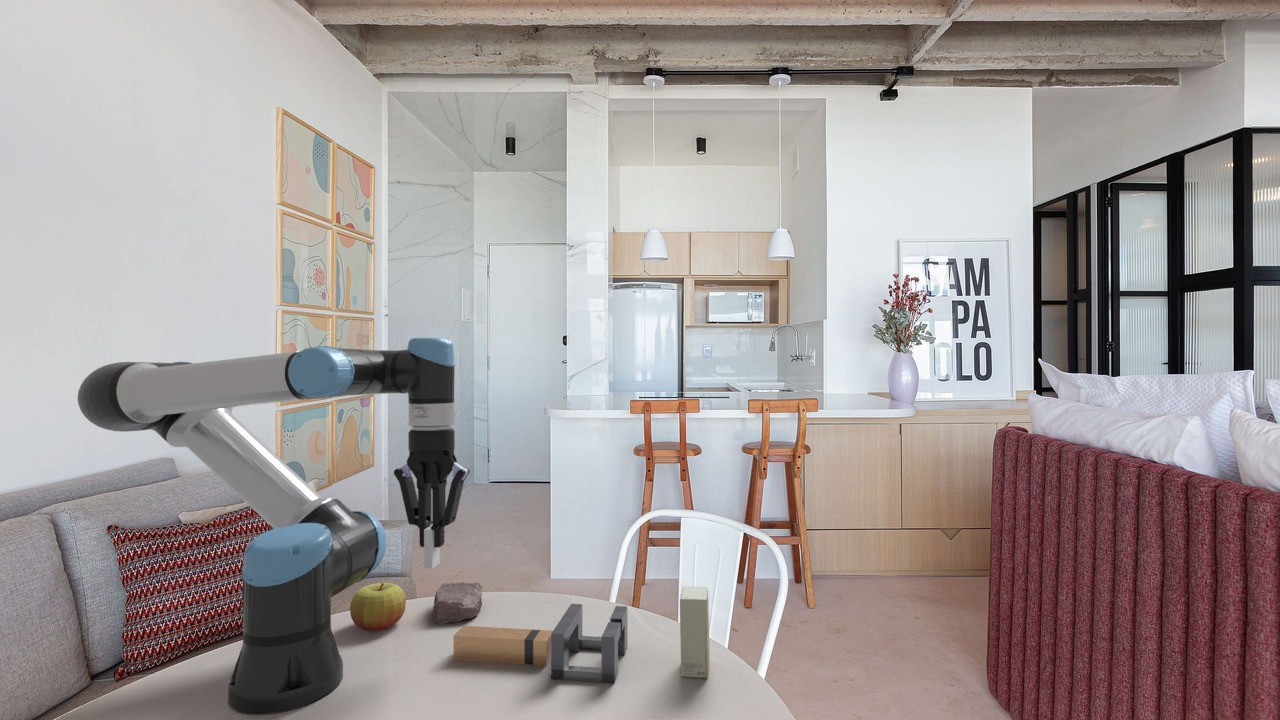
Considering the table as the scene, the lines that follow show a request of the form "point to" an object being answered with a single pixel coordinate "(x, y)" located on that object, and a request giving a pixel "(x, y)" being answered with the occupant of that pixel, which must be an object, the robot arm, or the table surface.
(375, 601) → the apple
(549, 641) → the block
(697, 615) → the skincare box
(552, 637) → the grey open frame bracket
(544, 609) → the table surface
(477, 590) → the stone
